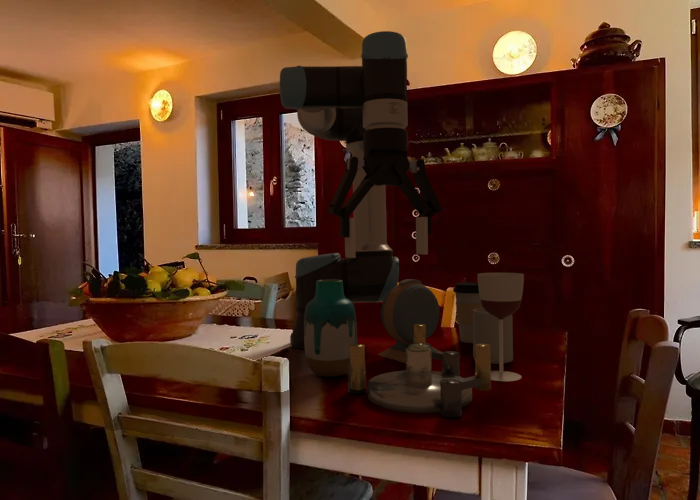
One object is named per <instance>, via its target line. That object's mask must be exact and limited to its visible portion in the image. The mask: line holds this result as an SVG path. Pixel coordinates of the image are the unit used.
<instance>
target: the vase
mask: <svg viewBox="0 0 700 500" xmlns="http://www.w3.org/2000/svg"><path fill="white" fill-rule="evenodd" d="M304 344H305V349H304V353H305V360H306V364H307V367H308V368H309V370H310V371H311V373H314V374H315V375H317V376H321V377H329V378H332V377H340V376H343V375H346V374H348V363H349V362H350V345H352V344H358V328H357V315H356V309H355V305H354V303H352V302H351V301H350V300H348V299H347V298H346V297H345V295H344V290H343V281H342V280H335V279H329V280H318V281H316V294H315V297H314V299H313V300H311V301H310V302H308V304H307V305H306V308H305V316H304Z"/></svg>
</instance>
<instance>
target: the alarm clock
mask: <svg viewBox="0 0 700 500" xmlns="http://www.w3.org/2000/svg"><path fill="white" fill-rule="evenodd" d="M380 310H381V311H380V318H381V322H382V325H383V327H384V329H385V331H386V333H387V334H388V335H389V336H390V337H391V338H392V339H394V340H395V344H392V345H391V346H390V347H389V348H387V349H385V350H384V351H382V352H379V353H378V354H377V356H378V355H379V357H382V358H385V357H386V359H390V360H392V359H393V360H392V361H396V360H397V361H396V362H398V363H404V364H406V349H407V348H408V346H409V345H412V344H414V333H413V325H414V324H425V325H426V340H427V339H428V338H430V337H431V336H432V334H433V333H434V332H435V331H436V329H437V327H438V323H439V319H440V314H441V313H440V310H441V309H440V304H439V300H438V299H437V297H436V295H435V294H434V292H433V291H432V290H431V289H430V288H428V287H427V286H426V285H425V284H422V281H421V280H419V279H412V278H409V279H407V278H406V279H403V280H400V281H398V285H397V286H395V287H394V288H392V289H391V290H390V292H389V293H388V294H387V295H386V297H385V299H384V300H383V302H382V305H381V309H380ZM426 345H428V346H429V348H430V349H431V350H433V351H439V352H442V351H441V350H439V349H437V348H435V347H434V346H432V345H431V344H430V343H428V342H426Z"/></svg>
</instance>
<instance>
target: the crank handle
mask: <svg viewBox="0 0 700 500" xmlns="http://www.w3.org/2000/svg"><path fill="white" fill-rule="evenodd" d="M413 333H414V344H424V345H426V343H427V341H426V340H427V339H426V325H425V324H414V325H413ZM439 351H440V350H439ZM439 351H433V350H431V360H432V359H435V360H440V361H441V363H442V364H441V365H442V372H444V373H449V374H453V375H457V376H460V375H461V374H460V373H461V372H460V371H461V370H460V366H461V365H460V362H461V361H460V352H457V351H452V350H451V351H450V350H448V351H441V352H439ZM460 377H461V376H460Z"/></svg>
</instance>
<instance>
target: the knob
mask: <svg viewBox="0 0 700 500" xmlns="http://www.w3.org/2000/svg"><path fill="white" fill-rule="evenodd" d="M365 351H366V350H365V344H362V343H357V344H352V345H350V362H349V363H348V373H347V388H348V389H347V392H348V393H349V394H354V395H355V394H356V395H359V394H360V395H361V394H365V393H366V392H367V370H366V369H367V368H366V364H367V363H366V358H365V357H366V352H365Z"/></svg>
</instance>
